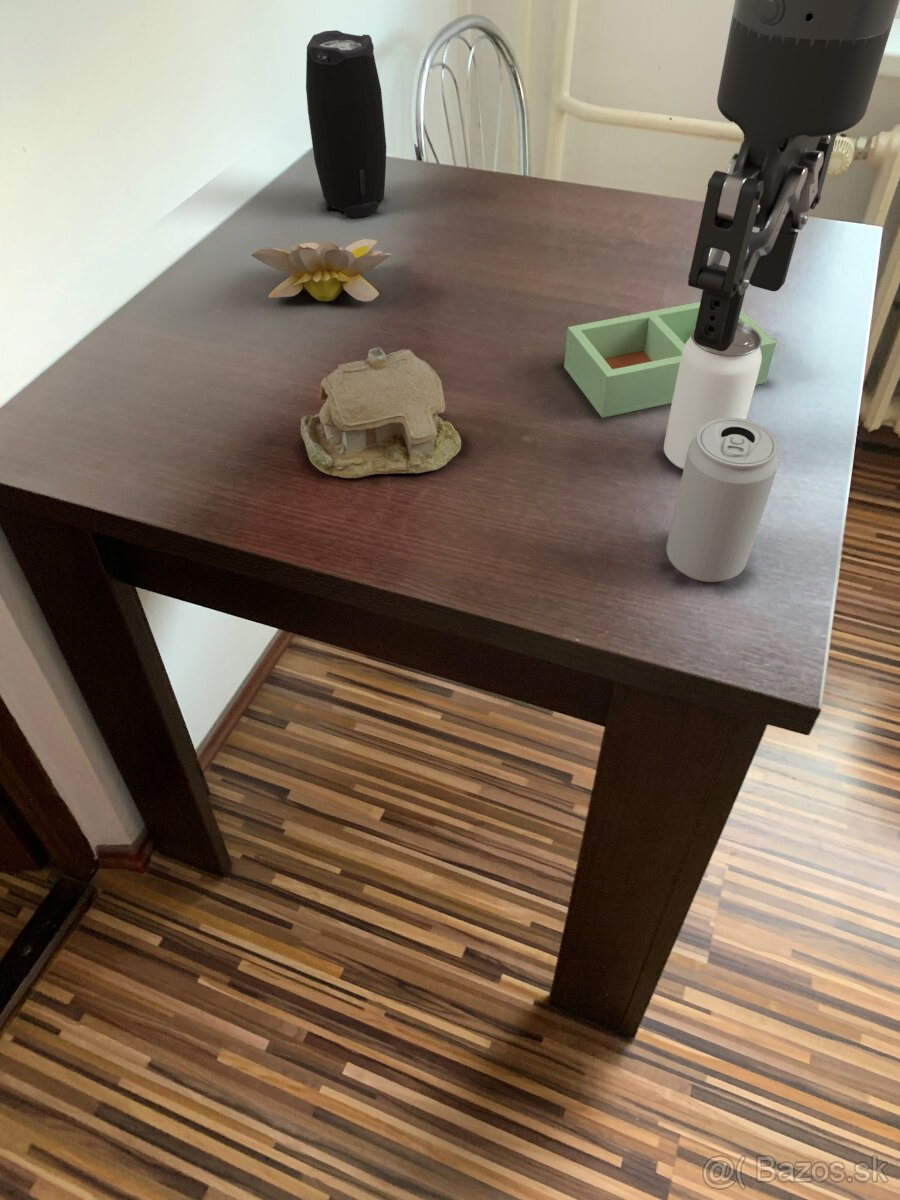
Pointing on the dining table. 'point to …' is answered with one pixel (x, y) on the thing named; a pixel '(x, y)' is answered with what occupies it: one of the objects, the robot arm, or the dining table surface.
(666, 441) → the can
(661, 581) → the dining table surface
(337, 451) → the ceramic model
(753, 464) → the beverage can
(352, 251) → the decorative flower
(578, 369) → the cup holder
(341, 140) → the portable speaker
